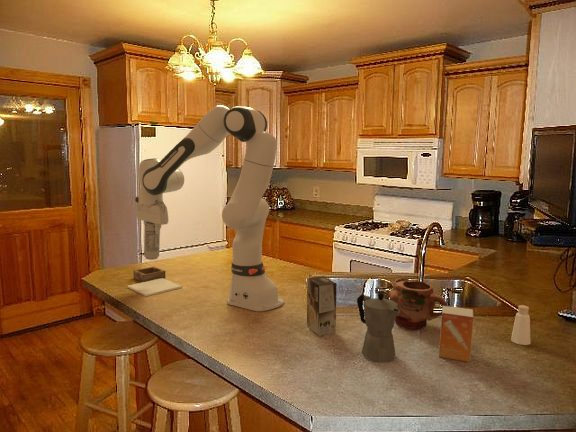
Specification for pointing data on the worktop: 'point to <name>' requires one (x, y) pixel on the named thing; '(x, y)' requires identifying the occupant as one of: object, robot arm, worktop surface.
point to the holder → (149, 274)
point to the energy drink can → (151, 242)
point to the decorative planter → (415, 304)
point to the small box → (456, 333)
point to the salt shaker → (521, 326)
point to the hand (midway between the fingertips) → (152, 233)
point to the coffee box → (321, 305)
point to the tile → (154, 287)
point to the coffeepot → (378, 327)
